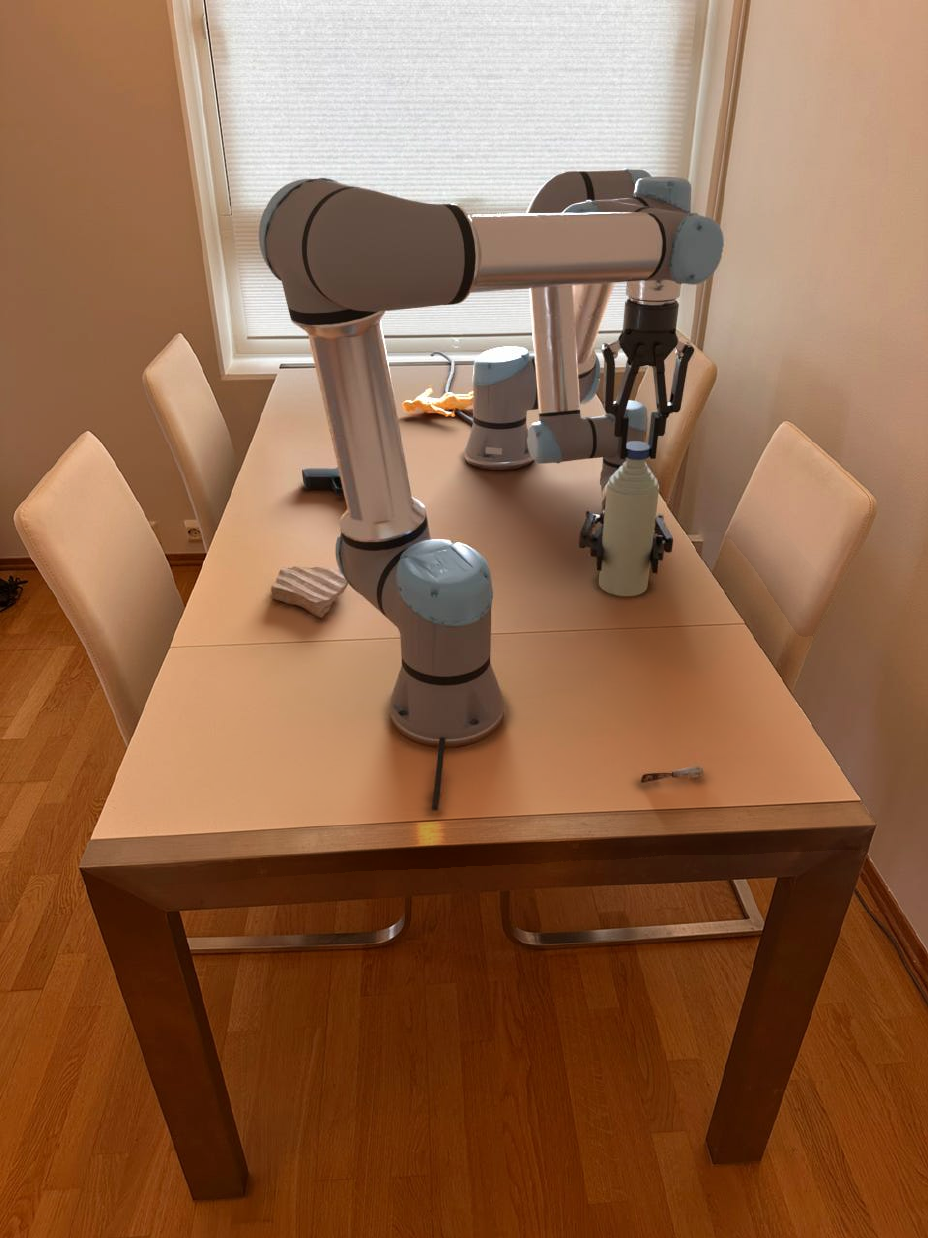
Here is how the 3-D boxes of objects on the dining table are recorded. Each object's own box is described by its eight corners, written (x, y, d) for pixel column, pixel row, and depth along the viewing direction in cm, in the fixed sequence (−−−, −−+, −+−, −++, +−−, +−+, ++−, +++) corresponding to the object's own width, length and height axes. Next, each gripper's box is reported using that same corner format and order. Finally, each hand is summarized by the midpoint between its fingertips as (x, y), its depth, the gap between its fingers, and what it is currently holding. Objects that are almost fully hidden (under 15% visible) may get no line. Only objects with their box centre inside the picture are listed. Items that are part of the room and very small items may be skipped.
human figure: (395, 413, 223) (394, 398, 221) (438, 390, 237) (438, 375, 235) (462, 429, 215) (462, 413, 213) (502, 404, 229) (503, 388, 227)
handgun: (311, 501, 172) (373, 494, 174) (301, 466, 186) (358, 460, 188) (313, 516, 173) (374, 509, 176) (302, 480, 187) (359, 474, 190)
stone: (359, 584, 150) (358, 571, 149) (323, 619, 141) (322, 605, 140) (294, 571, 155) (292, 558, 153) (254, 604, 145) (252, 590, 144)
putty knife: (703, 777, 109) (705, 767, 109) (642, 788, 108) (644, 777, 107) (700, 772, 110) (702, 762, 109) (639, 782, 109) (640, 771, 108)
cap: (647, 461, 136) (648, 451, 135) (620, 458, 137) (621, 448, 136) (651, 451, 139) (652, 442, 138) (625, 448, 140) (626, 439, 140)
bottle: (608, 568, 155) (621, 436, 142) (653, 579, 152) (670, 445, 139) (591, 589, 149) (602, 453, 136) (637, 601, 146) (653, 463, 133)
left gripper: (596, 305, 122) (584, 465, 135) (719, 304, 123) (696, 464, 135) (588, 293, 129) (578, 447, 141) (705, 292, 129) (685, 446, 142)
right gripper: (678, 526, 163) (691, 588, 144) (563, 521, 165) (560, 581, 146) (683, 488, 159) (697, 547, 140) (565, 483, 161) (563, 540, 142)
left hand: (636, 455), depth 138 cm, fingers closed on cap, 4 cm apart
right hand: (627, 564), depth 143 cm, fingers closed on bottle, 8 cm apart
